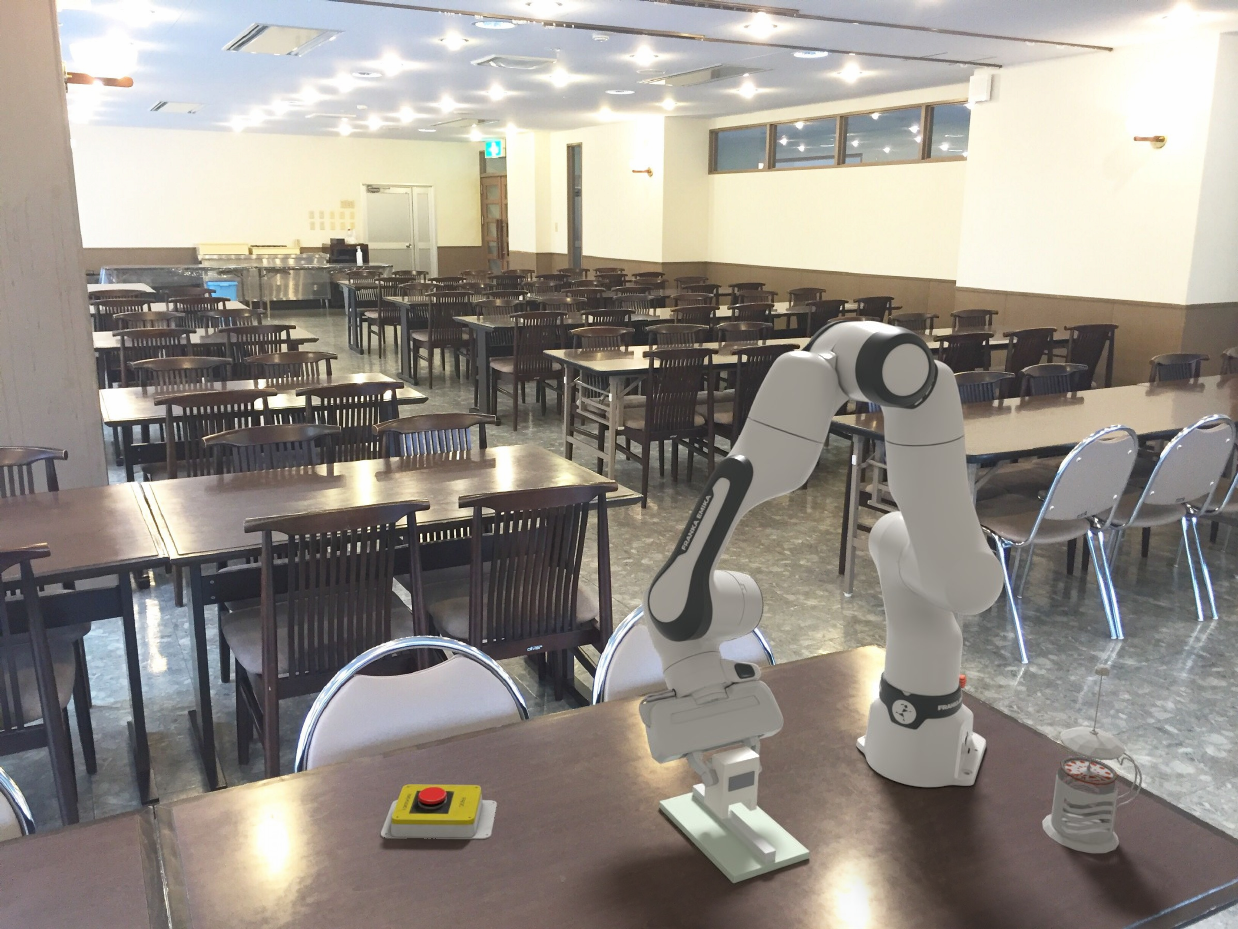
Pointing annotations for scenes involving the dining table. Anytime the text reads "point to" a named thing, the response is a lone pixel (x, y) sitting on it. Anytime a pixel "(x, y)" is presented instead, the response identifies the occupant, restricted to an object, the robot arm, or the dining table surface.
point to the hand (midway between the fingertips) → (734, 779)
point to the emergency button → (440, 813)
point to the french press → (1088, 789)
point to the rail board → (734, 836)
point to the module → (733, 780)
